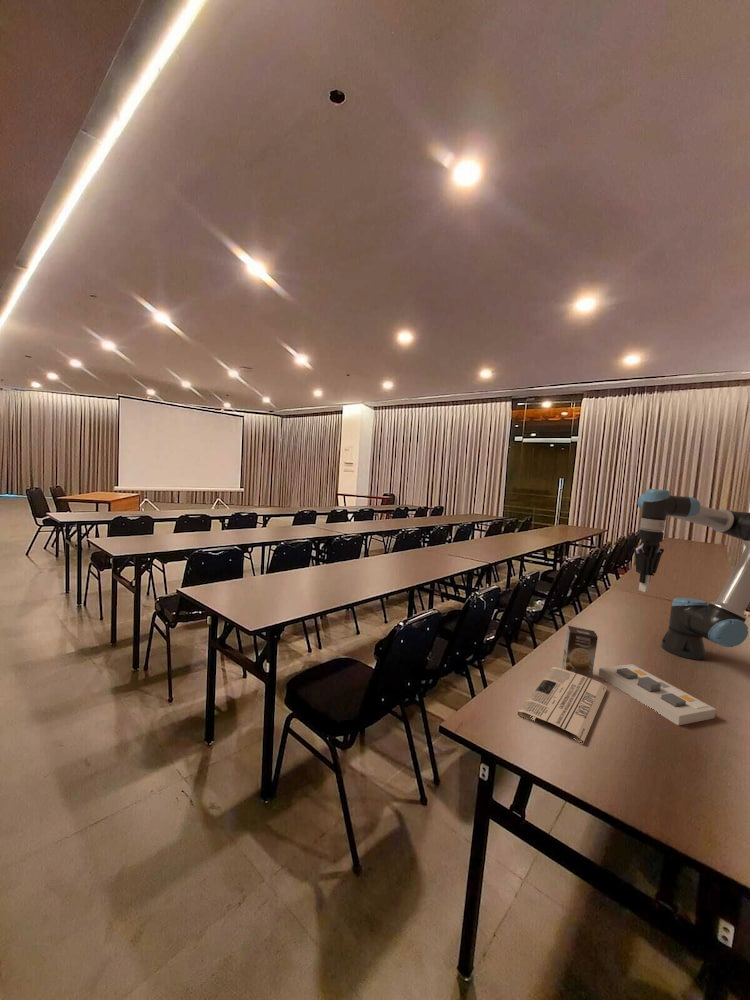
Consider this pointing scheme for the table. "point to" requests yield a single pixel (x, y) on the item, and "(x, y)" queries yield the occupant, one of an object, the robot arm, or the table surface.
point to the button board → (659, 696)
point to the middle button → (649, 684)
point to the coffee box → (580, 651)
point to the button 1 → (627, 673)
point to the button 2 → (673, 700)
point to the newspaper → (565, 701)
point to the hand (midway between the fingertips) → (643, 591)
